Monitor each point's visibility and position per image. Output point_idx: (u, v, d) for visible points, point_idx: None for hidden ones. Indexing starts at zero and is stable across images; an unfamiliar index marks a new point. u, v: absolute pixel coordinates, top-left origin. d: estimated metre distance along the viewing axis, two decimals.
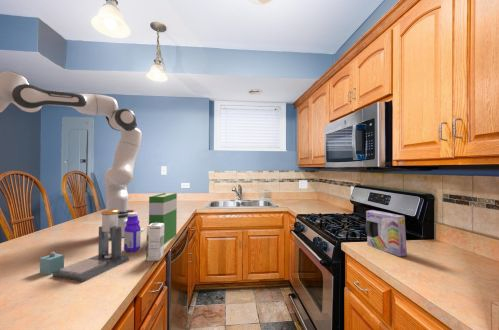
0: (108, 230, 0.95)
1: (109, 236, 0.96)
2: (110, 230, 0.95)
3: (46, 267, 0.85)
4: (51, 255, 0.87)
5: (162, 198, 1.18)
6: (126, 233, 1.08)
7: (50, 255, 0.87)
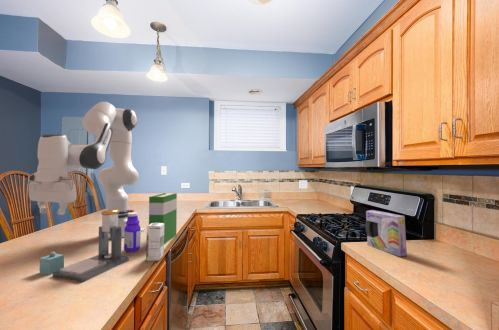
0: (108, 230, 0.95)
1: (109, 236, 0.96)
2: (110, 230, 0.95)
3: (46, 267, 0.85)
4: (51, 255, 0.87)
5: (162, 198, 1.18)
6: (126, 233, 1.08)
7: (50, 255, 0.87)
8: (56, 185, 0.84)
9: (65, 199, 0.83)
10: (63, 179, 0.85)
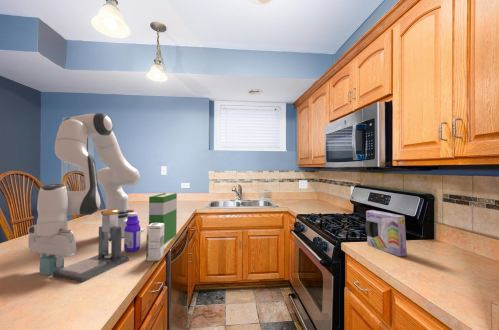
0: (108, 230, 0.95)
1: (109, 236, 0.96)
2: (110, 230, 0.95)
3: (46, 267, 0.85)
4: (51, 255, 0.87)
5: (162, 198, 1.18)
6: (126, 233, 1.08)
7: (50, 255, 0.87)
8: (56, 239, 0.84)
9: (64, 254, 0.83)
10: (63, 232, 0.85)
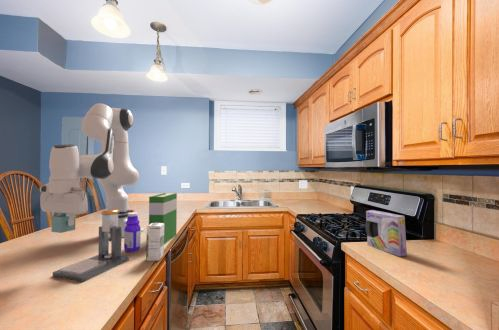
0: (108, 230, 0.95)
1: (109, 236, 0.96)
2: (110, 230, 0.95)
3: (57, 225, 0.84)
4: (63, 214, 0.86)
5: (162, 198, 1.18)
6: (126, 233, 1.08)
7: (62, 214, 0.86)
8: (68, 197, 0.84)
9: (76, 211, 0.83)
10: (75, 190, 0.85)
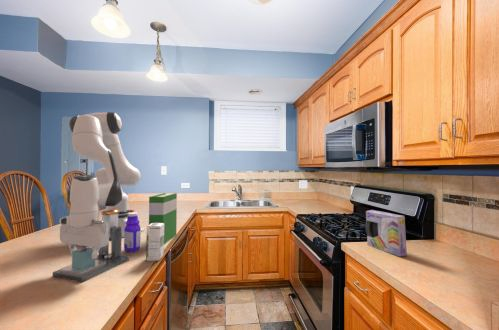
0: (108, 230, 0.95)
1: (109, 236, 0.96)
2: (110, 230, 0.95)
3: (78, 261, 0.84)
4: (83, 249, 0.86)
5: (162, 198, 1.18)
6: (126, 233, 1.08)
7: (82, 249, 0.86)
8: (89, 230, 0.84)
9: (98, 244, 0.82)
10: (96, 223, 0.84)
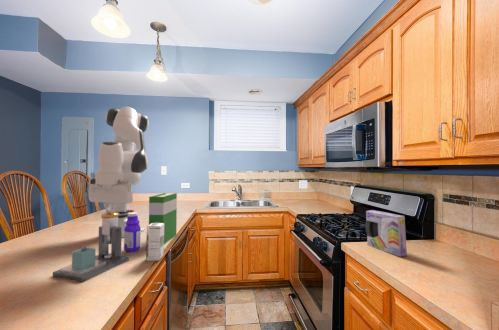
0: (108, 233, 0.95)
1: (109, 239, 0.96)
2: (110, 233, 0.95)
3: (78, 261, 0.84)
4: (83, 249, 0.86)
5: (162, 198, 1.18)
6: (126, 233, 1.08)
7: (82, 249, 0.86)
8: (116, 188, 0.94)
9: (124, 201, 0.93)
10: (121, 182, 0.95)
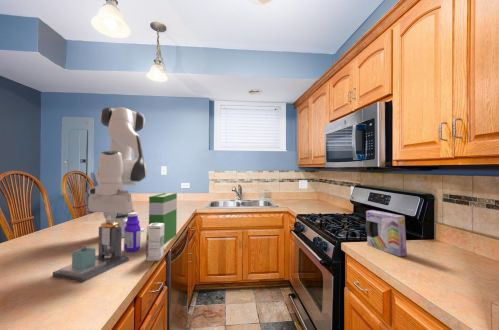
0: (108, 243, 0.95)
1: (109, 248, 0.96)
2: (110, 243, 0.95)
3: (78, 261, 0.84)
4: (83, 249, 0.86)
5: (162, 198, 1.18)
6: (126, 233, 1.08)
7: (82, 249, 0.86)
8: (116, 198, 0.94)
9: (124, 211, 0.93)
10: (121, 192, 0.95)
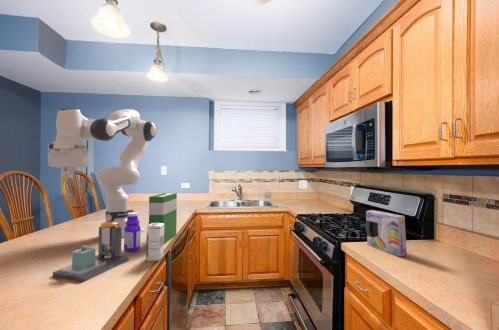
0: (108, 243, 0.95)
1: (109, 248, 0.96)
2: (110, 243, 0.95)
3: (78, 261, 0.84)
4: (83, 249, 0.86)
5: (162, 198, 1.18)
6: (126, 233, 1.08)
7: (82, 249, 0.86)
8: (72, 152, 0.98)
9: (80, 164, 0.96)
10: (78, 147, 0.98)
